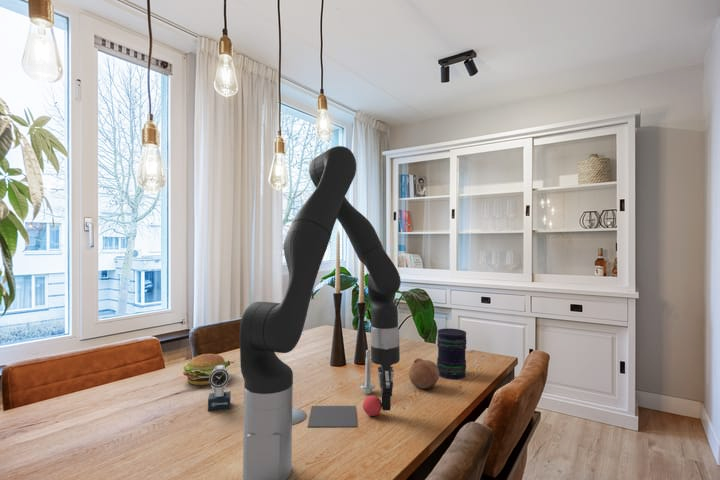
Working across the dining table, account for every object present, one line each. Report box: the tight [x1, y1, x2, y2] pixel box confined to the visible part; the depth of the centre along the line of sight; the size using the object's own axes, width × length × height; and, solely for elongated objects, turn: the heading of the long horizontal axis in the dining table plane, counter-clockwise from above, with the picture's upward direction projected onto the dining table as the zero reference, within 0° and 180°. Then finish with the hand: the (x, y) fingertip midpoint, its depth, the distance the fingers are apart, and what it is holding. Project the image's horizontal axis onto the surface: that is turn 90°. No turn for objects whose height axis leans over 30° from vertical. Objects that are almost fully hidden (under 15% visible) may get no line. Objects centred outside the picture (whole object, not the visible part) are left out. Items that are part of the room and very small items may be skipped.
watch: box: [207, 365, 232, 412], centre depth 106 cm, size 6×8×11 cm
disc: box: [292, 407, 307, 425], centre depth 101 cm, size 10×10×1 cm
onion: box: [408, 357, 440, 390], centre depth 122 cm, size 10×9×10 cm
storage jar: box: [436, 328, 467, 381], centre depth 135 cm, size 10×10×15 cm
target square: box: [307, 405, 358, 428], centre depth 101 cm, size 12×12×1 cm
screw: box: [359, 349, 377, 395], centre depth 118 cm, size 13×5×5 cm
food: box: [183, 353, 231, 386], centre depth 127 cm, size 14×14×8 cm
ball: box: [362, 394, 382, 417], centre depth 102 cm, size 5×5×5 cm
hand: (386, 409), depth 102 cm, fingers closed
